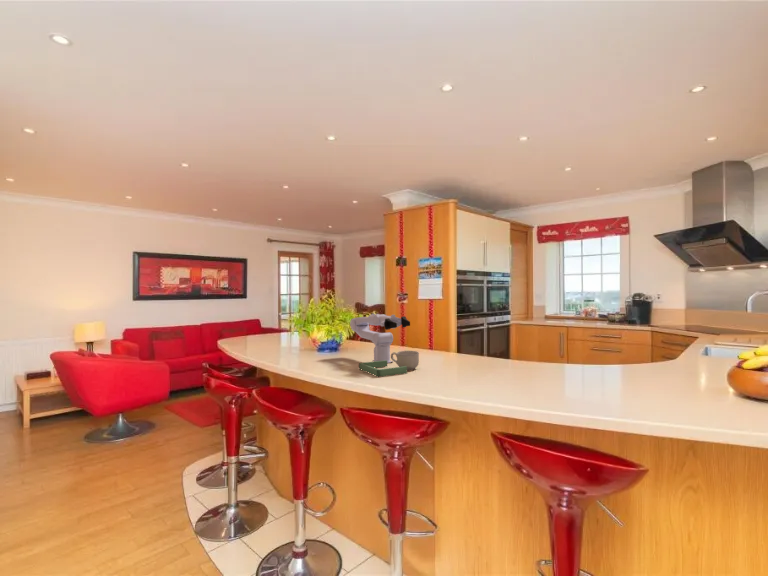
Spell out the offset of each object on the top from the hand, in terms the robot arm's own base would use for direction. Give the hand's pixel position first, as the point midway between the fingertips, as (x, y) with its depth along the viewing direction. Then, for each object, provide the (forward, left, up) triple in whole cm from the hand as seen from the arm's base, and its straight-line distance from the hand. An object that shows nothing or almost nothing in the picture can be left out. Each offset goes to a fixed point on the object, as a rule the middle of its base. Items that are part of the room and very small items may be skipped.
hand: (402, 324), depth 186 cm
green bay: (+1, -12, -21) cm, 24 cm away
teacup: (+1, 0, -21) cm, 21 cm away
